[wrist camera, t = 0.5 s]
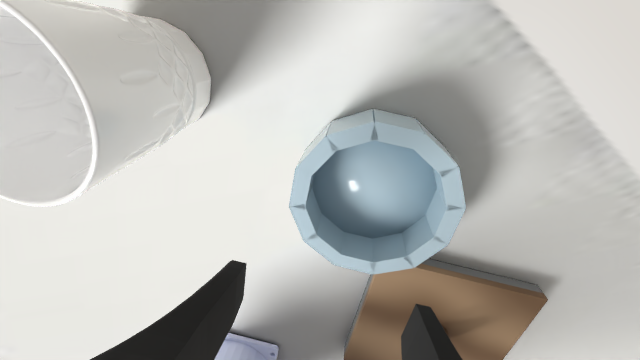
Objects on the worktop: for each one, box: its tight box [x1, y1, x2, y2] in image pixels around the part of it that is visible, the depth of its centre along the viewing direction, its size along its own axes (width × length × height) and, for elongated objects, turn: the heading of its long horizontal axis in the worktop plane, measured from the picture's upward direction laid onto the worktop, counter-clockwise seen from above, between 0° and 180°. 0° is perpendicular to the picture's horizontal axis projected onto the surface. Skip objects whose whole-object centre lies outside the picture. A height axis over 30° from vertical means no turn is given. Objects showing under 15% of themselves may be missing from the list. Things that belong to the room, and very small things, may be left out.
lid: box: [344, 264, 548, 360], centre depth 22 cm, size 12×12×5 cm
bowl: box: [289, 109, 466, 275], centre depth 19 cm, size 10×10×3 cm
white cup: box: [0, 0, 211, 207], centre depth 15 cm, size 8×8×10 cm
